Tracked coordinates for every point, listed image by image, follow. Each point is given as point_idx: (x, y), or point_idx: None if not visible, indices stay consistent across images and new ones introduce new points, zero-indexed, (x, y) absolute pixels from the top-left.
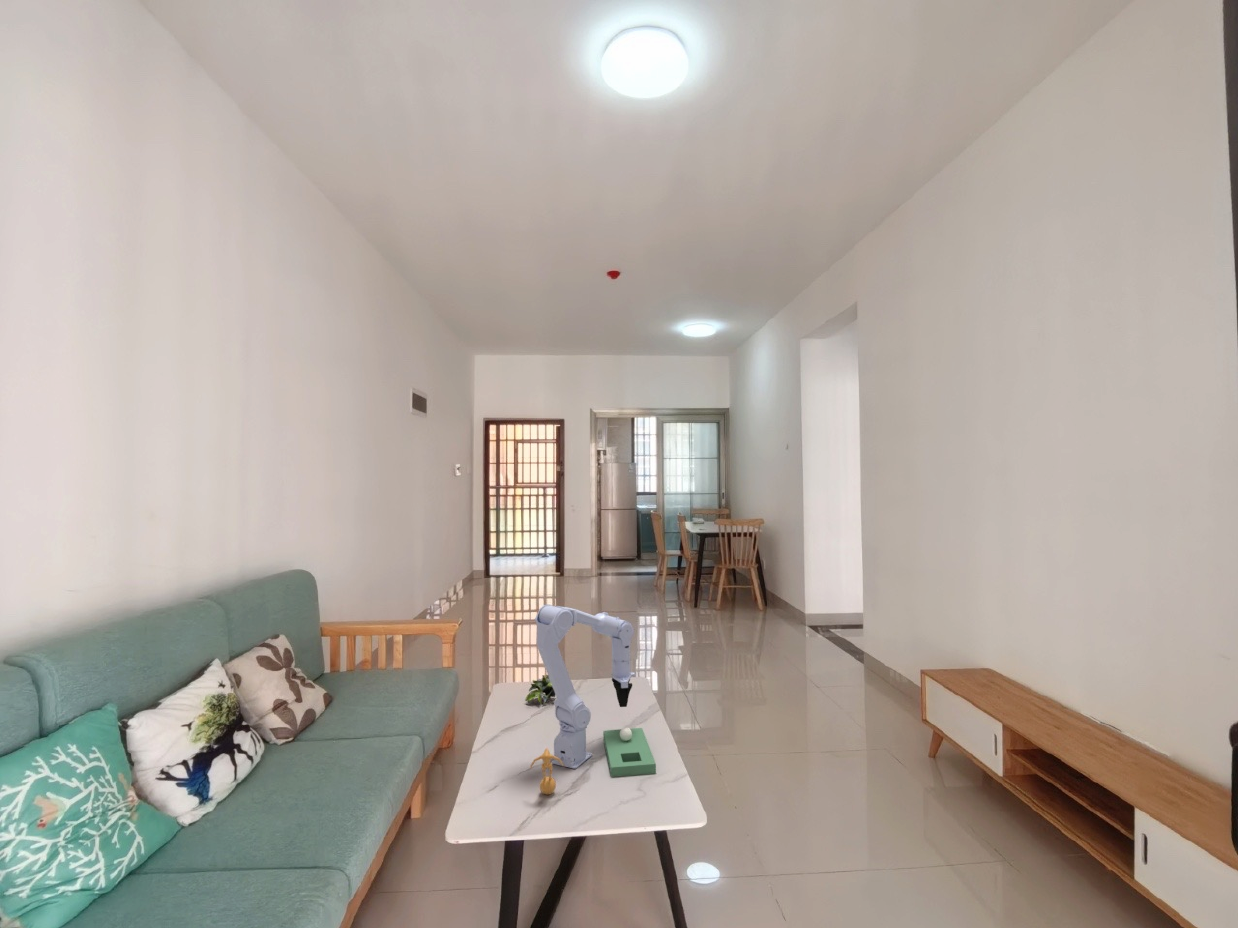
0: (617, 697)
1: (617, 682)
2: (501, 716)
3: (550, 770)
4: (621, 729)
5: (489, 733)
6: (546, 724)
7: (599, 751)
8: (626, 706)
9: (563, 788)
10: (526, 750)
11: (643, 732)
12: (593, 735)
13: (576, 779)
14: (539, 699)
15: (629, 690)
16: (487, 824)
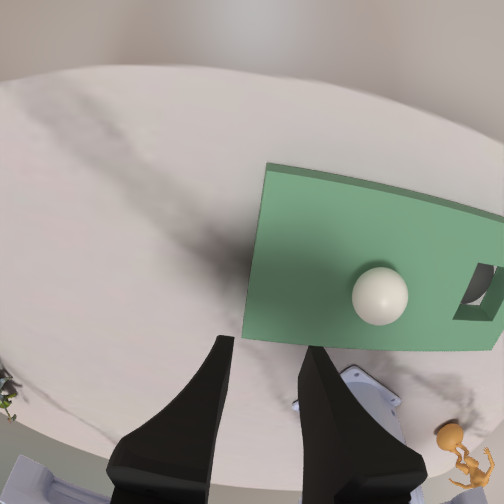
0: (224, 401)
1: (207, 497)
2: (74, 442)
3: (466, 455)
4: (373, 323)
5: None
6: (108, 406)
7: None
8: (323, 347)
9: (450, 410)
10: (253, 455)
11: (326, 181)
12: (202, 337)
13: (439, 394)
14: (10, 397)
15: (391, 440)
16: (453, 460)
